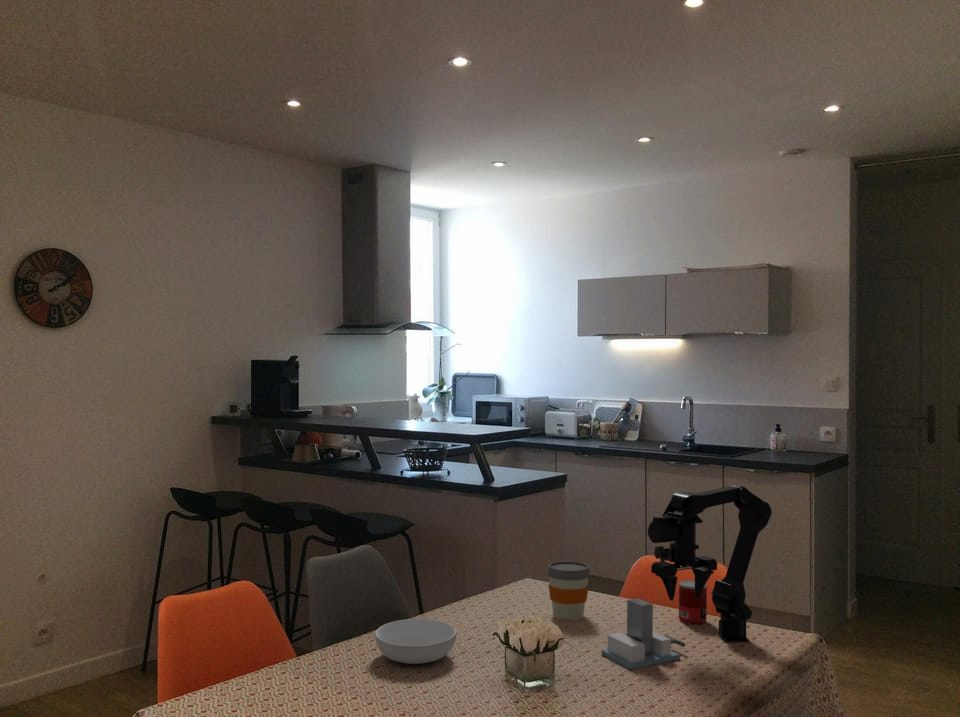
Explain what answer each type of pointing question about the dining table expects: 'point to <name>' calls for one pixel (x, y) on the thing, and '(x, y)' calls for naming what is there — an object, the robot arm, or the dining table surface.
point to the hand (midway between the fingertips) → (684, 598)
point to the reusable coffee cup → (568, 589)
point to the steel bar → (640, 623)
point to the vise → (640, 650)
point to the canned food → (692, 603)
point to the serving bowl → (415, 640)
